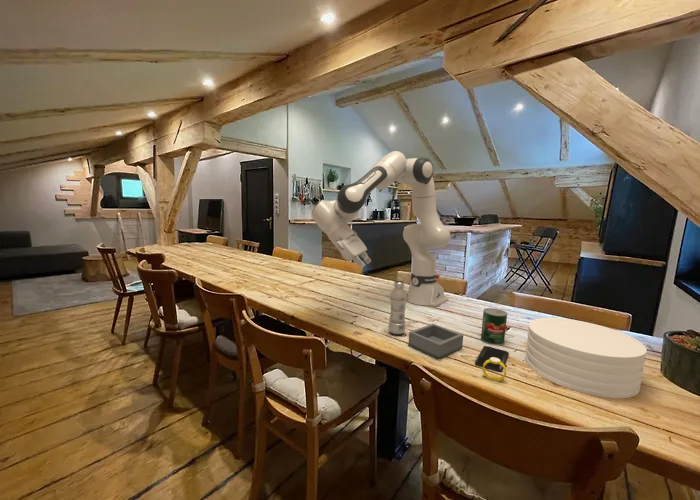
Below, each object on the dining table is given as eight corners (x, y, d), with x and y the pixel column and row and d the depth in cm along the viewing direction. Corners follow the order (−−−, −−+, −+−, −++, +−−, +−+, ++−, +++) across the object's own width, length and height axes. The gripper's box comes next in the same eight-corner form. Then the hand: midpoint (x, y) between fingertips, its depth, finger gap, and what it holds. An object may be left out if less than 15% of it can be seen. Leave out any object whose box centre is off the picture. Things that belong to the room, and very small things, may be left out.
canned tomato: (490, 346, 109) (493, 316, 108) (476, 337, 117) (478, 308, 115) (509, 344, 112) (512, 314, 110) (493, 335, 119) (496, 307, 117)
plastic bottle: (406, 330, 121) (408, 280, 118) (404, 337, 114) (407, 284, 112) (389, 328, 123) (391, 278, 120) (386, 335, 116) (389, 283, 113)
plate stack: (638, 370, 96) (645, 334, 95) (640, 413, 75) (648, 369, 74) (535, 341, 115) (539, 311, 113) (514, 370, 94) (518, 334, 92)
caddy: (432, 336, 116) (433, 323, 116) (462, 348, 107) (463, 334, 106) (408, 345, 108) (409, 331, 107) (438, 360, 99) (439, 345, 98)
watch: (482, 379, 89) (482, 359, 88) (483, 374, 91) (483, 355, 91) (505, 384, 86) (506, 363, 85) (506, 379, 88) (506, 359, 88)
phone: (509, 351, 104) (501, 370, 92) (509, 355, 104) (501, 374, 92) (484, 345, 108) (473, 362, 96) (483, 348, 109) (473, 365, 96)
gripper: (340, 233, 109) (366, 263, 107) (355, 230, 128) (378, 255, 127) (328, 245, 110) (353, 275, 109) (345, 240, 130) (366, 265, 129)
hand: (366, 264), depth 118 cm, fingers open, 8 cm apart
